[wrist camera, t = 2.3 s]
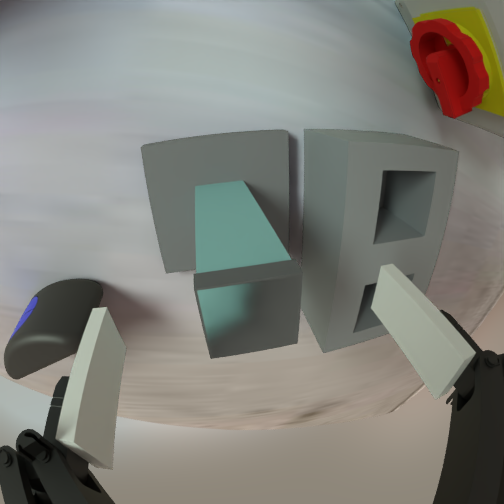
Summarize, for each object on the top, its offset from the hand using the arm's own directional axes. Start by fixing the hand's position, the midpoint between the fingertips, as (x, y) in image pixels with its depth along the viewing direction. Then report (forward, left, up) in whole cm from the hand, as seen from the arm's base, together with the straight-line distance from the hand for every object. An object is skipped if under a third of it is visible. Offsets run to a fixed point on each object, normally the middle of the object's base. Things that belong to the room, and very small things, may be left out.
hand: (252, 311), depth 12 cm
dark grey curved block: (+10, -21, -15) cm, 28 cm away
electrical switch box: (-17, +23, -15) cm, 32 cm away
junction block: (+4, +14, -15) cm, 21 cm away
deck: (0, 0, -15) cm, 15 cm away
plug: (0, 0, -13) cm, 13 cm away
